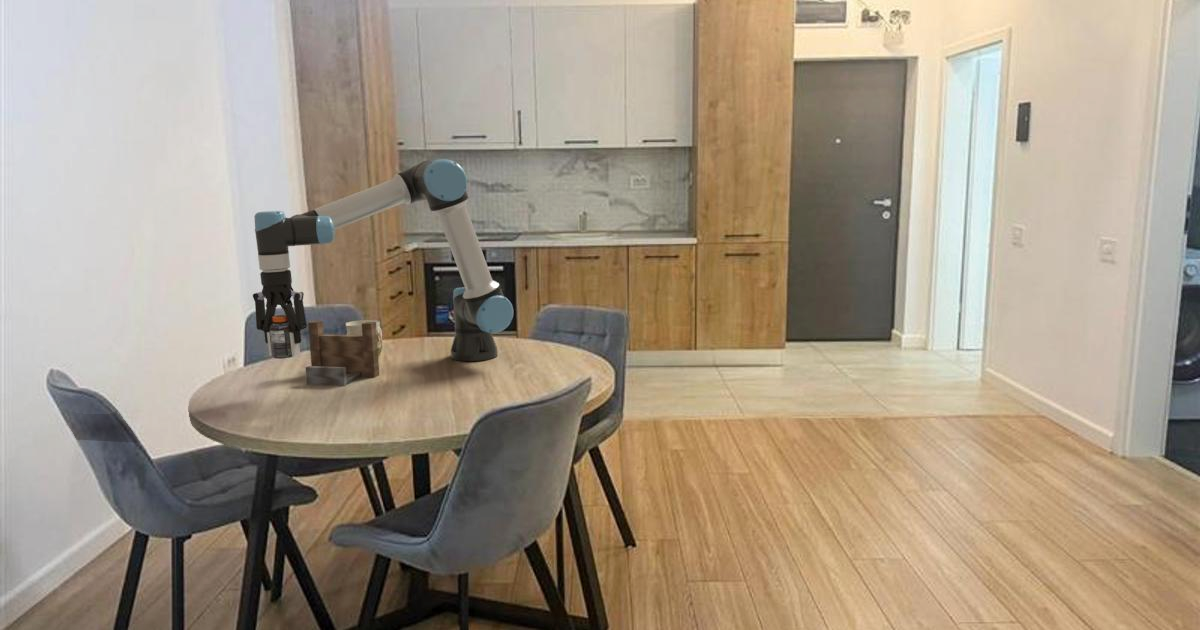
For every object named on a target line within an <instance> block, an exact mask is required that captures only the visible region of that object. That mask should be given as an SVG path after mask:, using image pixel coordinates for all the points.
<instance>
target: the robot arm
mask: <svg viewBox="0 0 1200 630" xmlns="http://www.w3.org/2000/svg"><path fill="white" fill-rule="evenodd" d="M467 187H468V178H467V174H466V172H465V170H464V169H463V167H462V166H461V165H460V164H459V163H457V162H456V161H454V160H451V159H447V158H437V159H428V160H425V161H424V160H423V161H421V162H419V163H417V164H415V165H413V166H411V167H409V168H407V169H406V170H403V171H401V172H398V173H395V174H394V176H393V178H392V179H389V180H387V181H384V182H381V183H378V184H377V185H373V186H371V187H369V188H366V189H363V190H361V191H358V192H356V193H353V194H351V195H348V196H345V197H342V198H340V199H338V200H334V201H332V202H329V203H327V204H324V205H321V206H318V207H316V208H314V209H312V210H308V211H306V212H304V213H300V214H295V215H292V216H291V217H286V214H285V212H284V211H283V210H274V211H273V210H272V211H271V210H270V211H267V210H266V211H258V212H256V213H255V214H254V231H255V240H256V246H257V247H256V248H257V254H258V256H257V258H258V265H259V270H261V272H259V273H260V274H259V275H260V276H259V277H260V280H261V281H260V283H261V286H262V290H261V291H259V292H256V293H253V294H252V298H253V301H254V303H255V306H254V307H255V319H256V320H255V323H256V329H257V330H258V331H263V334H264V342H265V344H267V347H268V354H269V357H273V352H272V344H271V335H270V326H271V325H272V324H273V318H272V317H273V316H276V315H275V314H276V309H277V307H278V306H280V308H281V309H283V311H284V315H286V317H287V319H288V322H289V324H290V327H291V329H292V331H291V332H290V342H291V352H292V356H294V357H297V356H299V355H301V349H300V343H302V336H301V335H302V334H301V331H302V330H304V329H306V328H307V327H308V323H307V320H306V319H307V318H306V313H305V307H304V306H305V305H304V296H305V295H304V292H303V291H300V292H299V291H295V290H294V288H293V286H292V284H293V283H292V282H293V279H292V271H291V270H290V269H289V268H290V267H291V262H290V261H291V260H290V253H289V252H290V251H289V247H296V246H297V247H298V246H311V245H321V246H322V245H324V244H331V243H333V242H334V241H335V231H336V230H338V229H340V228H343V227H345V226H348V225H351V224H353V223H356V222H358V221H361V220H364V219H365V218H368V217H371V216H374V215H376V214H378V213H381V212H384V211H386V210H390V209H392V208H393V207H397V206H399V205H401V204H406V205H411V204H413V203H416V202H420V201H426V202H427V204H428V207H429V210H430V212H431V213H433V214H435V215H436V216H438V219H439V222H440V224H441V227H442V230H443V233H444V235H445V238H446V241H447V244H448V246H449V249H450V251H451V254H452V256H453V259H454V262H455V265H456V267H457V269H458V270H457V271H458V272H459V275H460V278H461V280H462V283H463V287H456V288H454V290H453V292H452V293H453V294H452V295H453V296H452V300H453V303H452V304H453V318H454V320H453V321H454V335H453V336H454V337H453V340H452V343H451V348H450V358H451V359H452V360H454V361H459V362H480V361H486V360H492V359H494V358H496V357H498V351H499V350H498V347H497V344H496V342H495V339H494V336H493V334H496V333H500V332H503V331H504V330H505V329H507V328H508V327H509V325H510V324H511V323H512V320H513V317H514V308H513V307H514V306H513V304H512V303H511V301H510V300H509V299H508V297H506V296H504V292H503V291H502V287H501V284H500V282H497V281H496V280H493V278H492V275H491V273H490V269H489V267H488V263H487V261H486V259H485V255H484V253H483V250H482V247H481V244H480V242H479V241H480V240H479V239H478V236H477V233H476V231H475V228H474V224H473V223H472V219H471V216H470V214H469V210H468V208H467V204H468V201H469V200H470V199H469V196H468V193H467V192H468V191H467V190H466V189H467ZM291 298H292V299H291ZM265 299H266V303H265ZM292 300H293V302H292Z"/></svg>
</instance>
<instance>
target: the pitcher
mask: <svg viewBox="0 0 1200 630" xmlns="http://www.w3.org/2000/svg"><path fill="white" fill-rule="evenodd" d="M364 322H376V330H377V345H378V360H379V359H380V357H381V354H382V349H383V332H382V331H383V330H382V328H381V326H380V322H381V321H380V320H376V319H375V320H374V319H364V320H363V319H362V320H361V319H360V320H353V321H349V322H345V323H344V324H345V327H346V335H362V323H364Z"/></svg>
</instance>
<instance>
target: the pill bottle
mask: <svg viewBox="0 0 1200 630" xmlns="http://www.w3.org/2000/svg"><path fill="white" fill-rule="evenodd" d="M272 318H273V324H272V325H271V326H270V335H271V344H272V352H273V356H272V358H274V359H276V360H285V359H289V358H290V359H292V358H294V357H295V356H292V352H291V342H290V332H291V331H292V329H291V327H290V324H289V322H288V319H287V317H286V314H278V315H275V316H273V317H272Z"/></svg>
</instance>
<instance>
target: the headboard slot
mask: <svg viewBox="0 0 1200 630" xmlns="http://www.w3.org/2000/svg"><path fill="white" fill-rule="evenodd" d="M323 321H324V320H312V321H311V320H310V321H309V322H307V327H308V337H309V338H308V340H309V341H308V342H309V350H310V351H309V352H310V362H311V363H310V364H311V365H308V366H306V367H305V375H306V376H305V377H306V385H310V386H311V385H312V386H313V385H315V386H317V385H318V386H343V387H344V386H347V385H349V384H351V383H353V382H355V381H356V380H358V379H361V378H362V377H365V378H377V377H378V376H380V365H379V364H380V363H379V360H378V345H377V330H376V322H364V323H362V335H347V334H326V333H325V332H324V322H323Z"/></svg>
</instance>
